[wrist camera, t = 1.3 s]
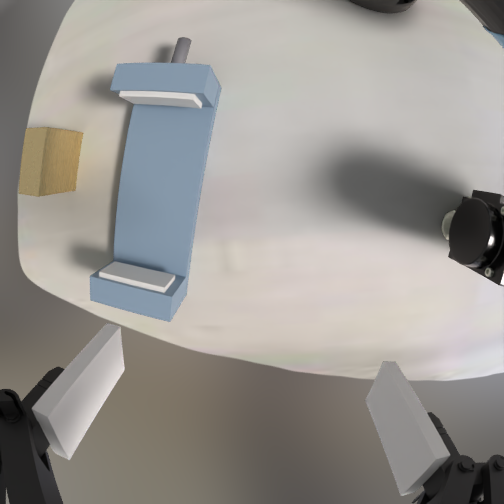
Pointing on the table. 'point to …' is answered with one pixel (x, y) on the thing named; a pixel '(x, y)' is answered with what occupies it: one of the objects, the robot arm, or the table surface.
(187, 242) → the vise
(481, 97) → the table surface
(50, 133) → the wooden block
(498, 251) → the white pneumatic actuator
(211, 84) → the free jaw
